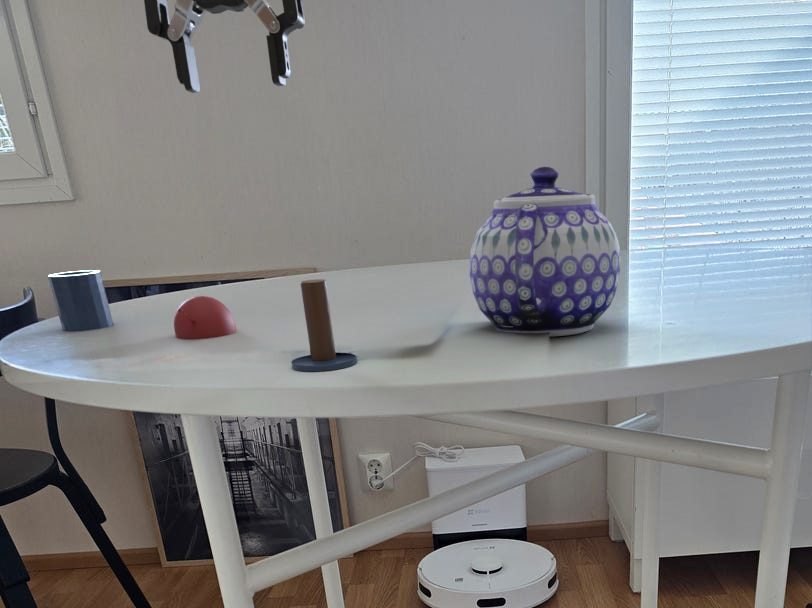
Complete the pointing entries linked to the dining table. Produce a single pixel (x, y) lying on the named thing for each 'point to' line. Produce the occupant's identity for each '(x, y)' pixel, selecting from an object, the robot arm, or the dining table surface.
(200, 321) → the fruit
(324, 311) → the peg on round base
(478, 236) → the teapot
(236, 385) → the dining table surface
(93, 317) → the tin
